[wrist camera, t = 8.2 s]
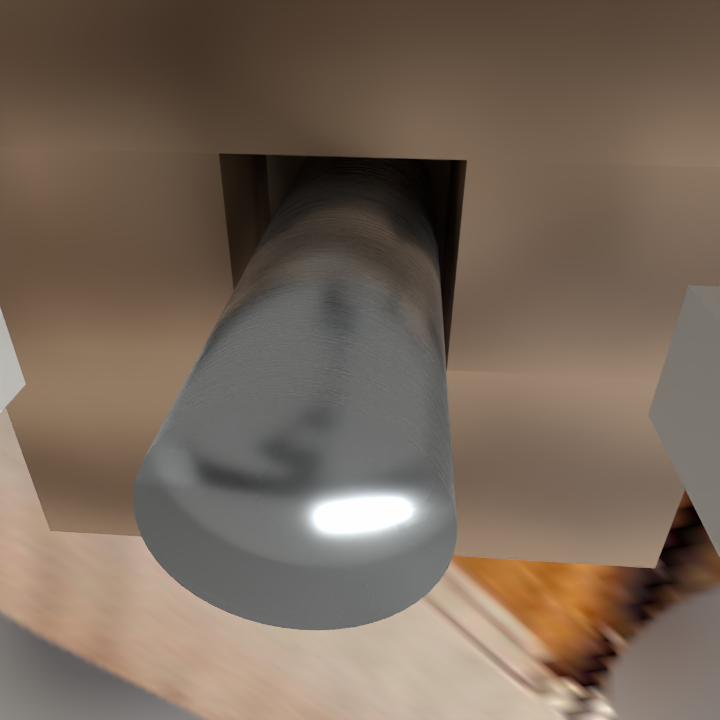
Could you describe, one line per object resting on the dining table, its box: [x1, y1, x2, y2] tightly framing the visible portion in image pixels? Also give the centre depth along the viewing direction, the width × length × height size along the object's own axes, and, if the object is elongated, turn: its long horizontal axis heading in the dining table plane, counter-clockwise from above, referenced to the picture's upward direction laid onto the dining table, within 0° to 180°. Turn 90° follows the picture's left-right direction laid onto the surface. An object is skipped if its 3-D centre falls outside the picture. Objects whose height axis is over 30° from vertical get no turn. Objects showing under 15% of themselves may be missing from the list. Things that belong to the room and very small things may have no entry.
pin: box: [133, 156, 457, 630], centre depth 13 cm, size 4×4×12 cm
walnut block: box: [0, 0, 720, 568], centre depth 17 cm, size 18×18×6 cm
